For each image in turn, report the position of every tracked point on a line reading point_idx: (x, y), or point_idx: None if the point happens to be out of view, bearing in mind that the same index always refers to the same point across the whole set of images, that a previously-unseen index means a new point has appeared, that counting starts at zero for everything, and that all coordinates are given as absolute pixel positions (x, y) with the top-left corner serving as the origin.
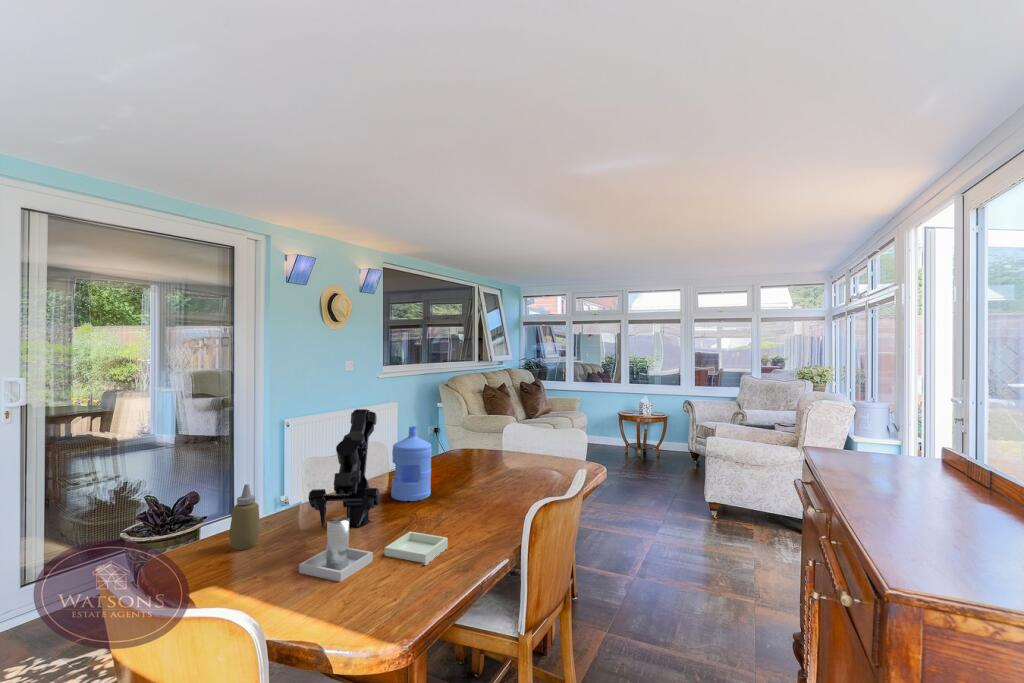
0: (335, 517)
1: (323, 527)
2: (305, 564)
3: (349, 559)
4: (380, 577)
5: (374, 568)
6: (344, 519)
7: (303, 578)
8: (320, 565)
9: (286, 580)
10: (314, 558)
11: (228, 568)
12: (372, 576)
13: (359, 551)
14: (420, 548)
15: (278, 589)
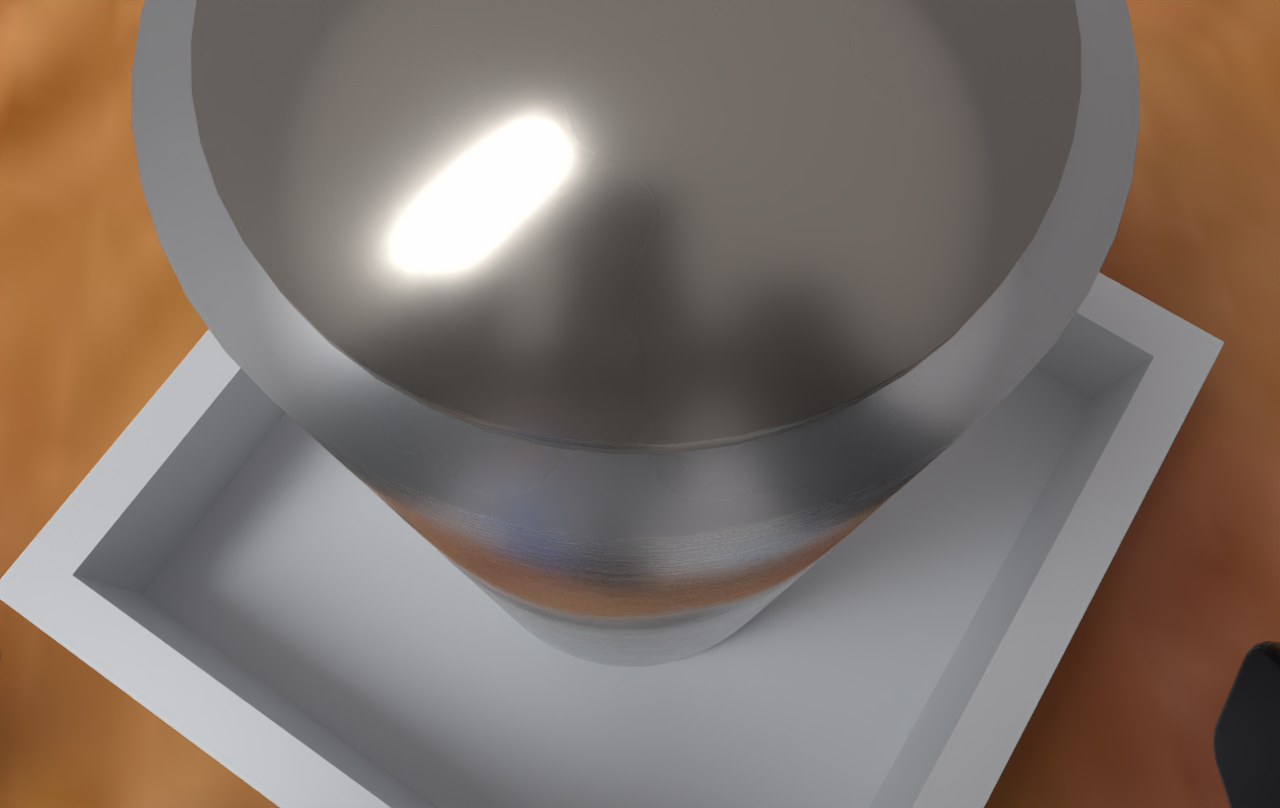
0: (845, 365)
1: (1218, 728)
2: (1115, 306)
3: (455, 732)
4: (43, 155)
5: (89, 435)
6: (360, 7)
7: None
8: (899, 577)
9: (1252, 301)
10: (1039, 558)
11: None
12: (142, 200)
13: (241, 695)
14: None
15: (1254, 91)
